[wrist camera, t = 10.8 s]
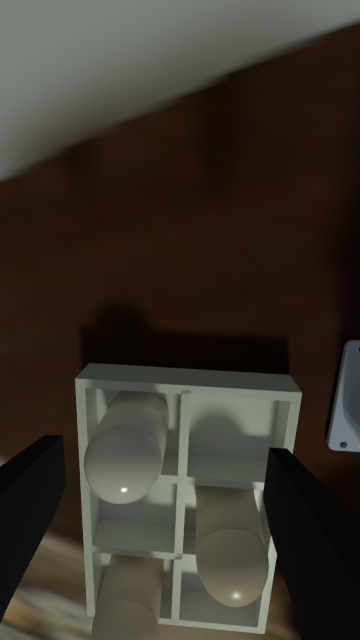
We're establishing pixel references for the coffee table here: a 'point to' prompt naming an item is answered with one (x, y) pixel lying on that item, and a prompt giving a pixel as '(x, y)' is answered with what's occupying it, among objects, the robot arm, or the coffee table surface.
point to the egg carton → (187, 503)
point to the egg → (128, 447)
